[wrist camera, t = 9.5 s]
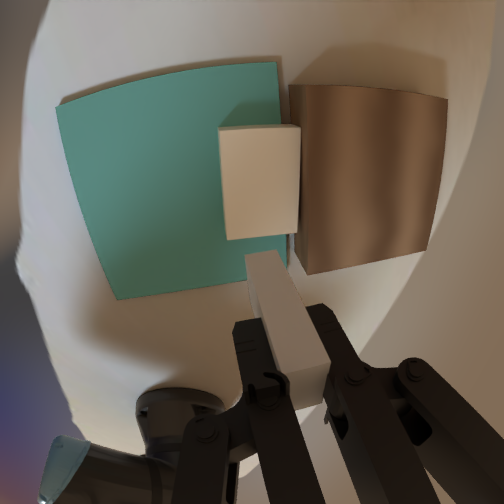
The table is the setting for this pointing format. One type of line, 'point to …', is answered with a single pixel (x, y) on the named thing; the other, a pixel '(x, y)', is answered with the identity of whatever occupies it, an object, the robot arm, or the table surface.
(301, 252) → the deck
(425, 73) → the table surface
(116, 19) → the table surface
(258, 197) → the tile
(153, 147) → the mat
